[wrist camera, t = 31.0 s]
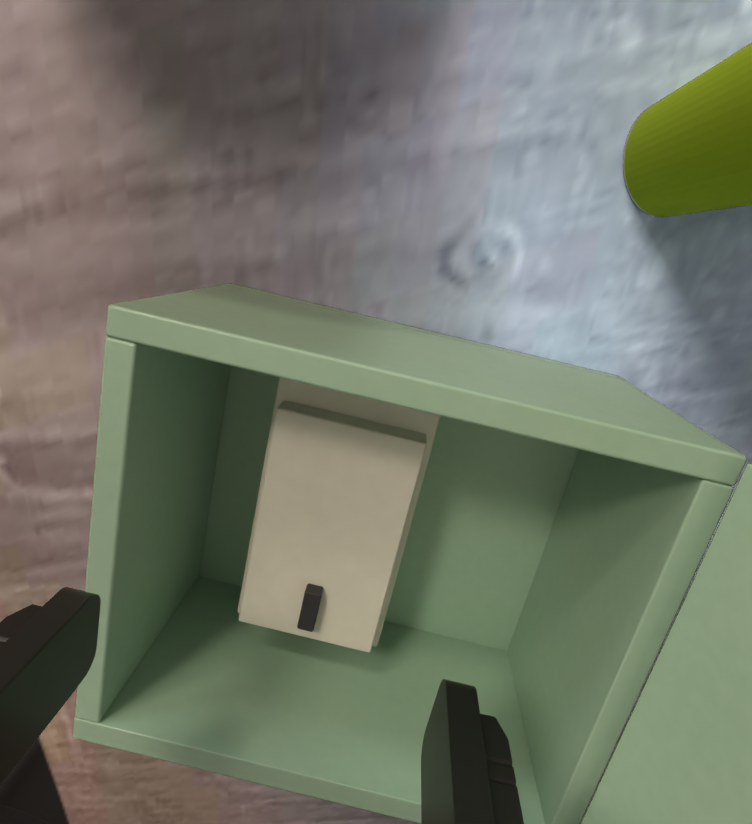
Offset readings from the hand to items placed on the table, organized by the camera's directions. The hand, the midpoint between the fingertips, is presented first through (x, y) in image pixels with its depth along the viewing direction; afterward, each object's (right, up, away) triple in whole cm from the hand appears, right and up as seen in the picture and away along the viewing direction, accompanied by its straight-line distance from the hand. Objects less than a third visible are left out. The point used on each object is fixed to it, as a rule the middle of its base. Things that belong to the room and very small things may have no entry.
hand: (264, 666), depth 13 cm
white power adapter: (+1, +3, +10) cm, 11 cm away
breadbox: (+3, +3, +11) cm, 11 cm away
